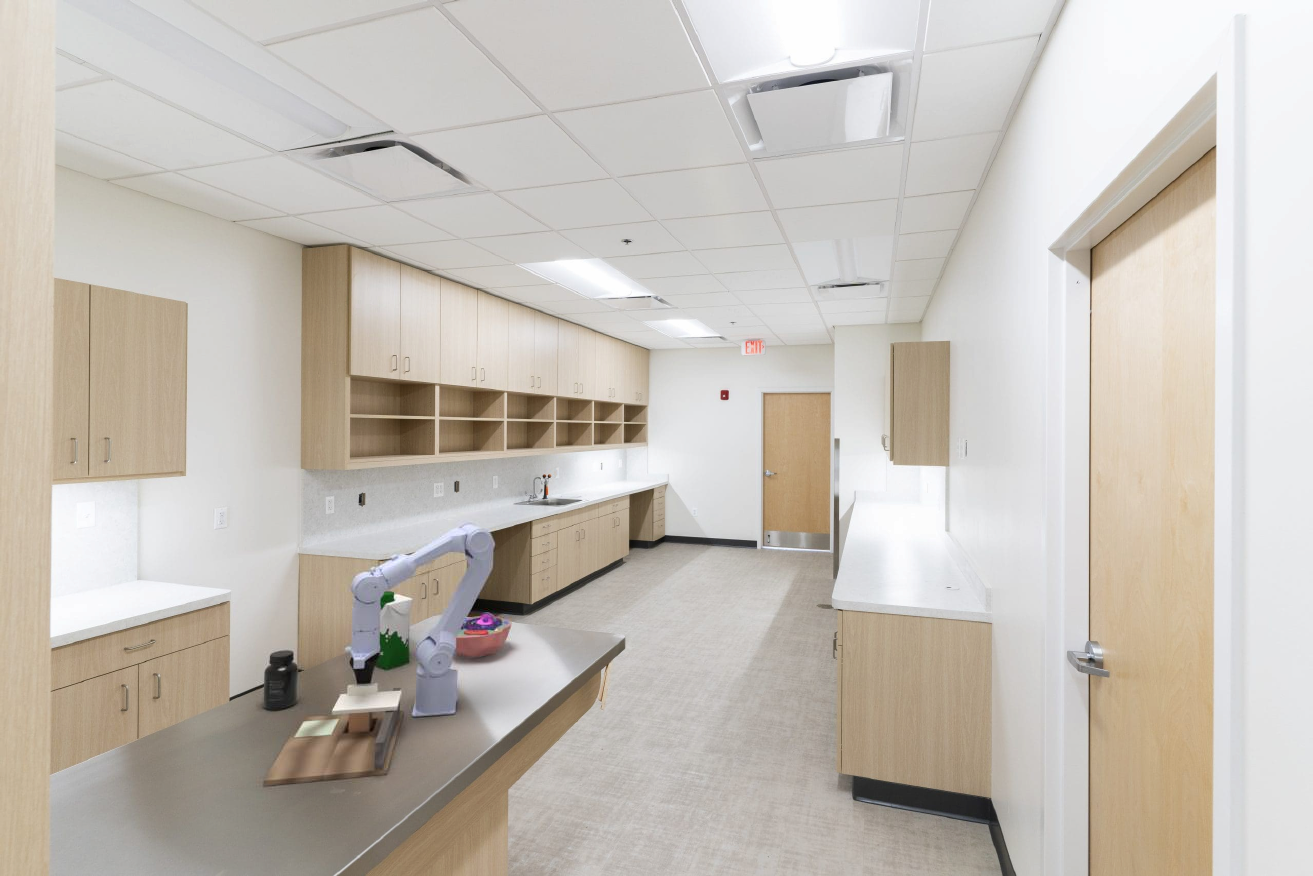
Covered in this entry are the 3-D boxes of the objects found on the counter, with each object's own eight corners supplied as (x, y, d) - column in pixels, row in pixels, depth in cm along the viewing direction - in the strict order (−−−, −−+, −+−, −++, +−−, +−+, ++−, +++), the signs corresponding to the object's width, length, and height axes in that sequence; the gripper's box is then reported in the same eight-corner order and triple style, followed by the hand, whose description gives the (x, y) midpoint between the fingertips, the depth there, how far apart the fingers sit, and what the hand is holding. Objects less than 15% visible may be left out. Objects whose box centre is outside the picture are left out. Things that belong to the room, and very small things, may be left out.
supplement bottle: (304, 701, 150) (305, 651, 150) (278, 713, 143) (279, 661, 143) (282, 696, 152) (283, 646, 152) (256, 707, 146) (257, 656, 145)
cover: (401, 694, 141) (402, 681, 141) (397, 710, 134) (397, 697, 133) (340, 698, 138) (340, 685, 138) (331, 714, 130) (332, 701, 130)
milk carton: (366, 664, 173) (368, 592, 172) (395, 655, 181) (397, 585, 180) (385, 672, 168) (388, 598, 168) (414, 662, 176) (417, 591, 175)
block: (371, 725, 140) (372, 698, 140) (368, 734, 136) (369, 706, 136) (352, 726, 139) (353, 699, 139) (348, 735, 135) (349, 708, 135)
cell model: (429, 656, 181) (431, 617, 181) (485, 638, 197) (486, 602, 197) (468, 671, 171) (469, 630, 171) (523, 651, 188) (524, 613, 187)
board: (403, 714, 145) (404, 687, 145) (386, 774, 121) (387, 742, 121) (301, 722, 140) (302, 693, 140) (263, 786, 116) (264, 752, 116)
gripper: (353, 618, 146) (351, 676, 146) (338, 639, 132) (336, 704, 132) (386, 617, 148) (384, 674, 148) (375, 638, 134) (373, 702, 134)
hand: (363, 688), depth 140 cm, fingers closed
